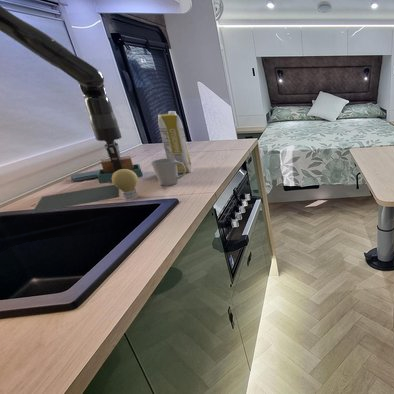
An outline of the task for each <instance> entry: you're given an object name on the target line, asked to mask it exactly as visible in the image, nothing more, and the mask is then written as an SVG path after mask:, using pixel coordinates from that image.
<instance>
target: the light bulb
mask: <svg viewBox="0 0 394 394" xmlns="http://www.w3.org/2000/svg"><path fill="white" fill-rule="evenodd" d="M138 181H139V177H137V175H136V174H135V173H134V172H133V171H131V170H128V169H121V170H118V171H116V172H114V173H113V175H112V181H111V183H112V185H115V186H116V187H117V188H119V191H121V194H122V197H123V198H122V199H123V201H133V200H136V199H138V198H139V195H138V192H137V189H136V186H137V184H138Z"/></svg>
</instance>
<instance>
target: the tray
mask: <svg viewBox="0 0 394 394" xmlns="http://www.w3.org/2000/svg"><path fill="white" fill-rule="evenodd" d="M133 167H134V170H131V171H133V172H134V173H135V174H136V175H137V177H138V178H139V177H143V172H142V168H141V165H140V163H135V164H133ZM97 170H98V173H97V177H96V178H97V180H98V183H99V184H104V183H110V182H112V175H113V173H108V174H105V173H104V170H103V168H100V169H97Z"/></svg>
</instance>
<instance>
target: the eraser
mask: <svg viewBox="0 0 394 394" xmlns="http://www.w3.org/2000/svg"><path fill="white" fill-rule="evenodd" d="M114 159H117V158H113V160H114ZM119 159H120V161H121V166H122V169H128V170H134V167H133V165H134V164H133V161H132V157H131V155H127V156H120V157H119ZM100 164H101V167H102V169H103V170H104V173H105V174H108V173H114V172H115V169H114V165H113V164H112V162H111V159H110V158H103V159H100Z"/></svg>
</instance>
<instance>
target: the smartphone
mask: <svg viewBox="0 0 394 394" xmlns="http://www.w3.org/2000/svg"><path fill="white" fill-rule="evenodd" d="M98 170H99V169H97V170H91V171H85V172H80V173H74V174H71V175H70V181H71V182H74V183H75V182H81V181H86V180H90V179H97V178H98V177H97V173H98Z"/></svg>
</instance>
